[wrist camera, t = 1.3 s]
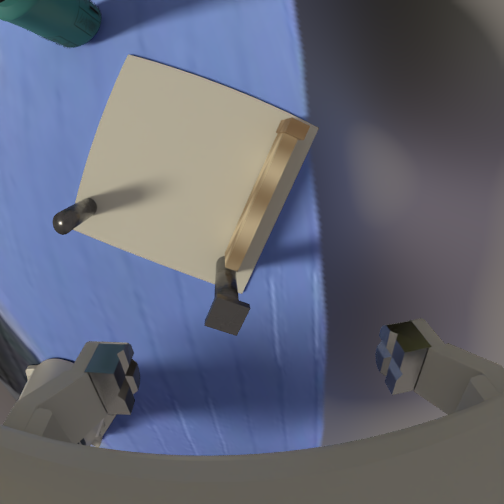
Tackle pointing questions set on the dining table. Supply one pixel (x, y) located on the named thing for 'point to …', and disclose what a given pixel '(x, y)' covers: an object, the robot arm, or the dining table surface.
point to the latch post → (74, 215)
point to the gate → (264, 189)
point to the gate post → (226, 302)
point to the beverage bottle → (54, 19)
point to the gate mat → (182, 168)
